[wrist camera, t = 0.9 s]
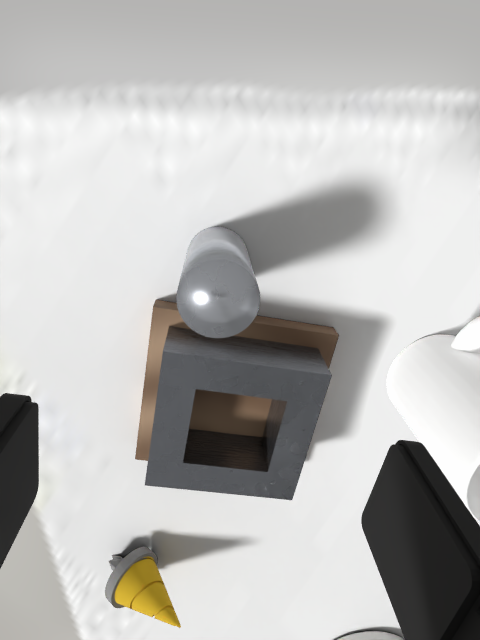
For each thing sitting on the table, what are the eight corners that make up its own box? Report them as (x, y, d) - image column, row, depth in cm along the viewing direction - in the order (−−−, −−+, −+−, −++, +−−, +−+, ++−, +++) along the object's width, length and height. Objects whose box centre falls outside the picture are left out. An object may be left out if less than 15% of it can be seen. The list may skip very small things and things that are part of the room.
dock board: (291, 464, 38) (294, 476, 37) (138, 447, 36) (135, 459, 35) (333, 327, 33) (338, 335, 31) (155, 299, 31) (153, 306, 30)
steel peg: (241, 290, 31) (251, 343, 23) (183, 280, 30) (171, 331, 22) (253, 232, 29) (268, 267, 21) (191, 221, 29) (182, 252, 21)
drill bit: (115, 524, 40) (186, 592, 35) (142, 536, 44) (209, 599, 39) (77, 577, 38) (145, 659, 33) (108, 584, 42) (174, 659, 37)
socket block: (284, 463, 36) (291, 500, 32) (152, 448, 34) (144, 485, 31) (318, 348, 32) (331, 375, 28) (169, 326, 30) (162, 351, 27)
